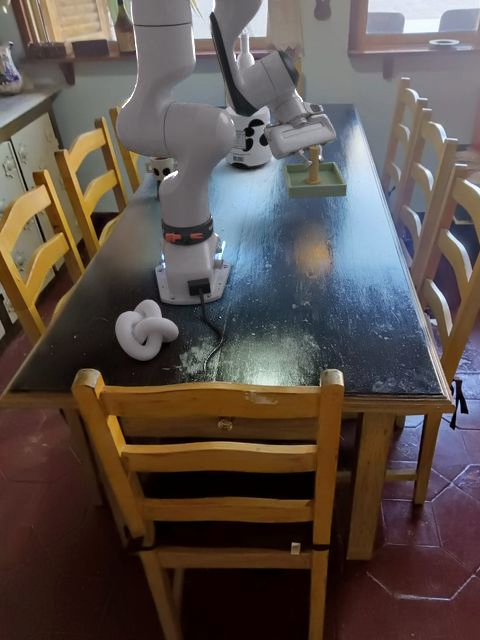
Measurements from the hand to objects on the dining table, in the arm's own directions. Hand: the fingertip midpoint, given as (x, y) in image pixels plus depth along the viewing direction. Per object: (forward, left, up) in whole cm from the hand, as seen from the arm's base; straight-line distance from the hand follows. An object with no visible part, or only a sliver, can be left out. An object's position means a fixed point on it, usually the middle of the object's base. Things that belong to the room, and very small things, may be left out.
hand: (315, 164), depth 139 cm
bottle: (+121, +14, -17) cm, 123 cm away
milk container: (+50, +16, -17) cm, 55 cm away
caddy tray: (0, 0, -6) cm, 6 cm away
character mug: (+23, +43, -17) cm, 52 cm away
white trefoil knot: (-53, +40, -17) cm, 68 cm away
